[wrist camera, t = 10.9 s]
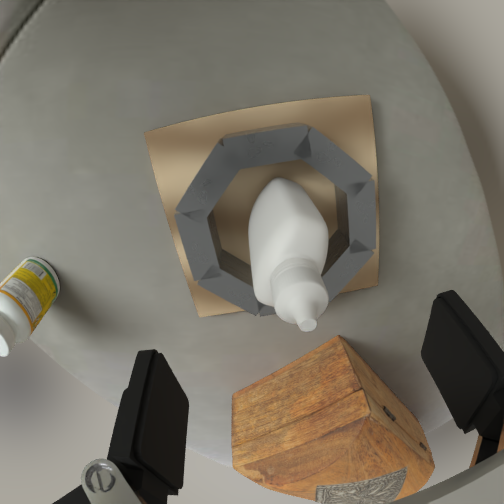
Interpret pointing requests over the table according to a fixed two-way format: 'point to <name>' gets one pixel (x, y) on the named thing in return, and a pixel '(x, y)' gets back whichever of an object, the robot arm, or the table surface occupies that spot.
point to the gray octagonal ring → (262, 153)
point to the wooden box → (329, 432)
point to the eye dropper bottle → (288, 253)
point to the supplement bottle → (25, 301)
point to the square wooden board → (262, 175)
